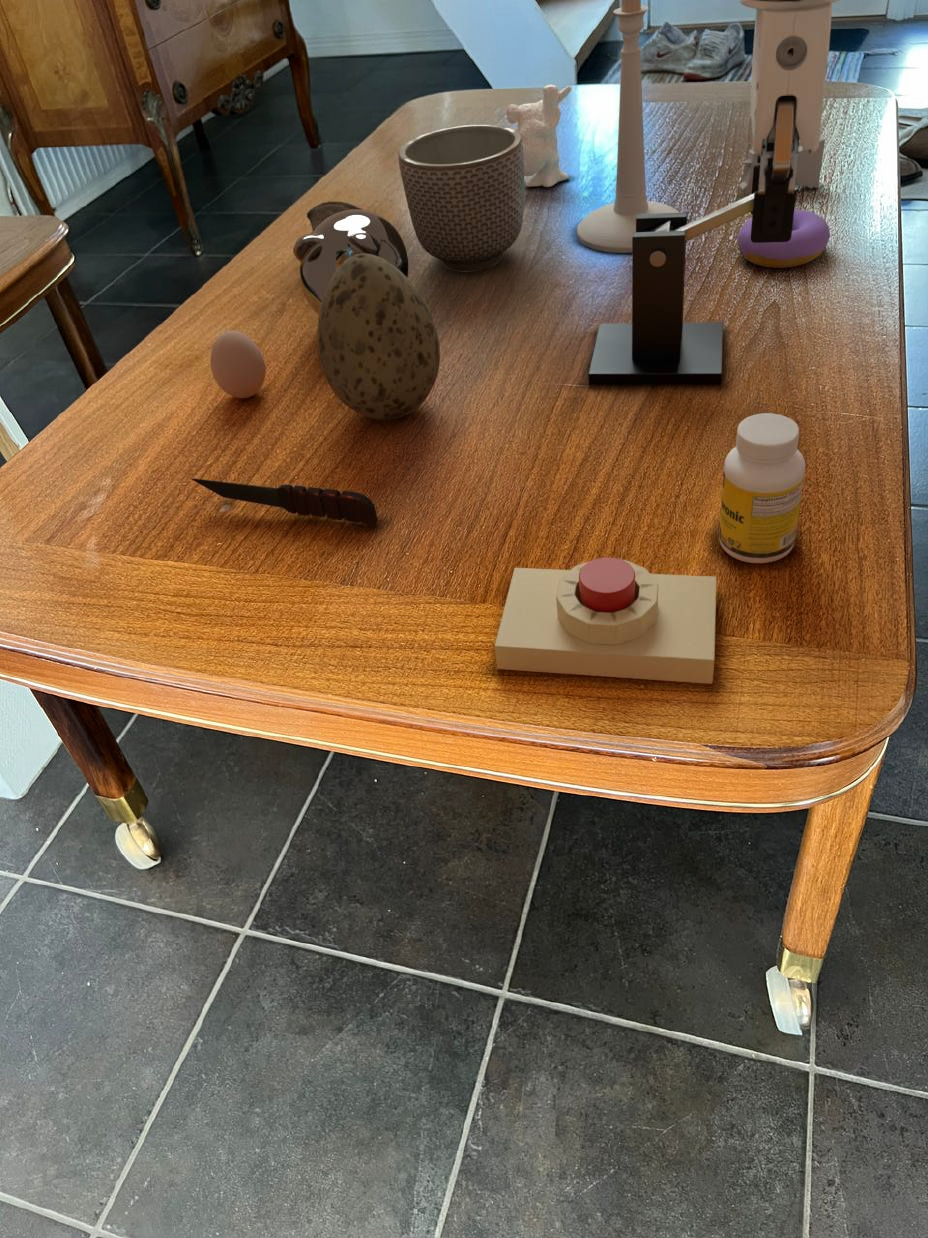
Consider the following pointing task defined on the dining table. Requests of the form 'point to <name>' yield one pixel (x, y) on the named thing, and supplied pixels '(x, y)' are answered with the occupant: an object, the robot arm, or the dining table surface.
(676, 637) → the power block
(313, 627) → the dining table surface
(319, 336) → the decorative egg
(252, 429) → the dining table surface
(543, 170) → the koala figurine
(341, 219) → the piggy bank
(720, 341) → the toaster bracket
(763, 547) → the supplement bottle
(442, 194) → the planter
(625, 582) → the button
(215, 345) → the egg
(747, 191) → the grey flat notched piece
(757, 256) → the donut
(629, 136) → the candlestick
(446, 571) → the dining table surface
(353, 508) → the knife
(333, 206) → the seashell
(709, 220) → the lever
